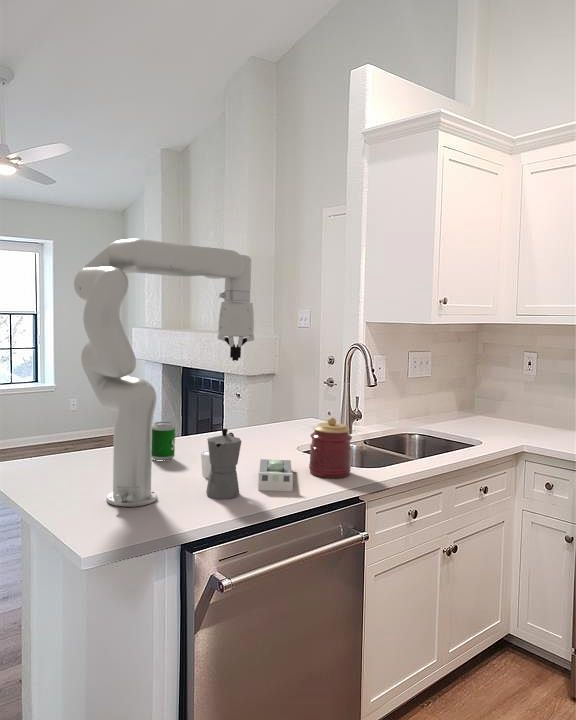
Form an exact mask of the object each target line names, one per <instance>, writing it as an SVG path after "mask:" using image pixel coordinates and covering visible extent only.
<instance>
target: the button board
mask: <svg viewBox="0 0 576 720" xmlns="http://www.w3.org/2000/svg"><path fill="white" fill-rule="evenodd" d="M269 460H270V459H266V458H265V459H264V458H263V459H262V458H261V459H260V463H259V472H258V484H257V485H258V488H257V491H259V492H261V491H262V492H264V491H265V492H266V491H267V492H293V483H294V481H293V480H294V473H293V469H292V460H290V459H280V460H281V461H283V472H282V473H269V472H280V471H268V462H269Z"/></svg>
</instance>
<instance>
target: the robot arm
mask: <svg viewBox="0 0 576 720" xmlns="http://www.w3.org/2000/svg"><path fill="white" fill-rule="evenodd" d="M251 258H252V257H250V256H249V255H246V254H240V253H239V252H238V251H235V250H232V249H226V248H225V249H224V248H220V247H219V248H217V247H209V246H208V247H207V246H198V245H197V246H196V245H191V244H183V243H174V242H173V243H172V242H165V241H157V240H150V239H144V238H127V239H119V240H114V241H113V242H112V243H110V244H109V245H107V246H106V247H105V248H103V250H101V251H100V252H99V253H98V254H97V255H95V256H94V258H92V259H90V260H89V261H88V262H87V263H86V264H85V265H84V266H82V268H80V269H79V271H78V272H77V273H76V274H75V277H74V280H73V288H74V292H75V293H76V295H77V296H78V297H79V298H80V299H82V300H83V301H85V305H84V308H83V309H84V310H83V315H82V320H83V327H84V330H85V333H86V335H87V338H88V340H89V341H88V342H86V343H85V345H84V346H83V348H82V350H81V355H80V356H81V357H80V358H81V359H80V361H81V364H82V365H81V366H82V368H83V370H84V373H85V375H86V377H87V379H88V382H89V384H90V386H91V388H92V390H93V392H94V394H95V396H96V398H97V400H98V401H99V403H100V404H101V406H103V407H104V408H106V409H108V410H111V411H113V412H118V414H117V417H116V419H115V420H116V421H115V423H114V427H113V455H112V457H113V459H112V461H113V462H112V463H113V464H112V465H113V466H112V467H113V468H112V471H113V472H112V474H113V475H112V491H111V492H109V493H108V494H107V495H106V502H107V503H108V504H110V505H113V506H116V507H123V508H124V507H125V508H128V507H130V508H131V507H133V508H134V507H142V506H146V505H149V504H152V503H154V502H155V501H156V500H157V499H158V494H157V493H156V491H154V490H152V465H153V464H152V462H153V461H152V460H153V458H152V426H153V425H154V415H155V411H156V406H157V394H156V393H157V391H156V390H155V387H154V386H153V385H152V383H150V382H149V381H147V380H145V379H143V378H139V377H135V376H130V375H132V374H133V372H134V371H135V369H136V366H137V358H136V355H135V352H134V349H133V347H132V345H131V343H130V341H129V339H128V336H127V333H126V331H125V329H124V327H123V324H122V321H121V317H120V316H121V315H120V314H121V313H120V311H121V307H122V303H123V301H124V298H125V297H126V295H127V293H128V290H129V279H128V276H127V273H128V274H131V273H136V274H137V273H138V274H147V275H159V276H170V277H196V276H197V277H201V276H204V277H205V278H207V279H215V280H216V279H219V280H220V279H224V290H223V292H219V294H218V295H219V297H218V298H221V299H224V301H221V303H220V307H219V317H218V327H217V328H218V335H217V339H218V340H219V341H224V342H225V343H226V344H228V345H229V347H230V350H229V351H230V355H229V358H231V360H232V362H233V361H234V362H235V361H236V362H237V361H239V359H241V354H242V346H243V345H244V344H245V343H247V342H252V341H255V335H254V330H255V329H254V328H255V319H254V318H255V316H254V315H255V314H254V306H253V305H254V304H253V302H251V286H252V281H251V280H252V259H251ZM234 337H238V339H237V340H238V341H237V344H235V339H234Z"/></svg>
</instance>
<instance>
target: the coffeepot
mask: <svg viewBox="0 0 576 720" xmlns="http://www.w3.org/2000/svg"><path fill="white" fill-rule="evenodd" d="M228 430H229V429H227V428H222V429H221V434H222V435H218V436H217V435H216V436H213V437H208V438H207V445H208V446H207V447H208V448H207V449H208V451H209V457H210V464H211V471H210V475H209V478H208V480H207V481H208V482H207V485H206V491H205V493H206V495H207V497H209V498H210V497H211V499H214V498H215V500H231V499H230V498H232V499H235V498H238V497H239V496H240V494H241V493H240V488H239V481H238V480H239V479H238V473H237V465H238V463H239V457H240V452H241V445H242V440H241V438H240V437H236V436H235V435H234V433H233V432H229V431H228ZM228 432H229V433H228Z"/></svg>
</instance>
